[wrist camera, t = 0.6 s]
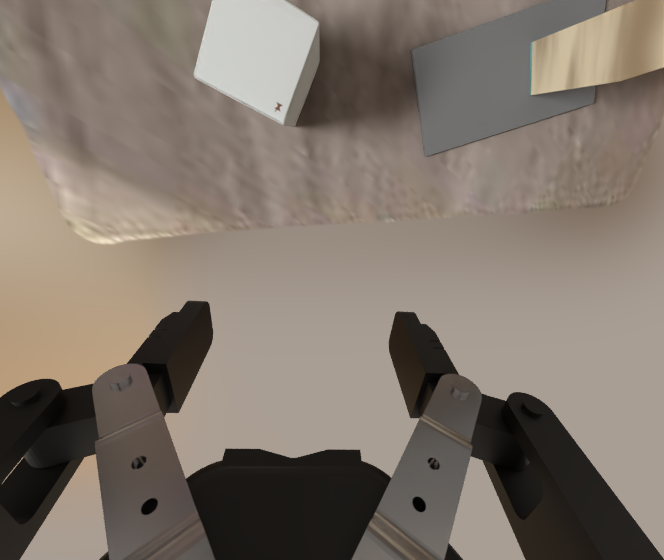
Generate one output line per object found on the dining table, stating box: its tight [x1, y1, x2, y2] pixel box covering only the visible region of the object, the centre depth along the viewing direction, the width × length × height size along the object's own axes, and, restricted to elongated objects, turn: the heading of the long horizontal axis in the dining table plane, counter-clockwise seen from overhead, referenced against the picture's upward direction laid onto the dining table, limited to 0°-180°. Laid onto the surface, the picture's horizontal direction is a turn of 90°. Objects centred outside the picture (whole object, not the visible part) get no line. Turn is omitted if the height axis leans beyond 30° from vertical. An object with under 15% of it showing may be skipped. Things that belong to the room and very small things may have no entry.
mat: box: [411, 0, 606, 156], centre depth 32 cm, size 20×11×1 cm, turn 107°
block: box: [529, 0, 664, 95], centre depth 27 cm, size 5×5×11 cm
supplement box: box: [194, 0, 320, 127], centre depth 26 cm, size 7×7×13 cm
